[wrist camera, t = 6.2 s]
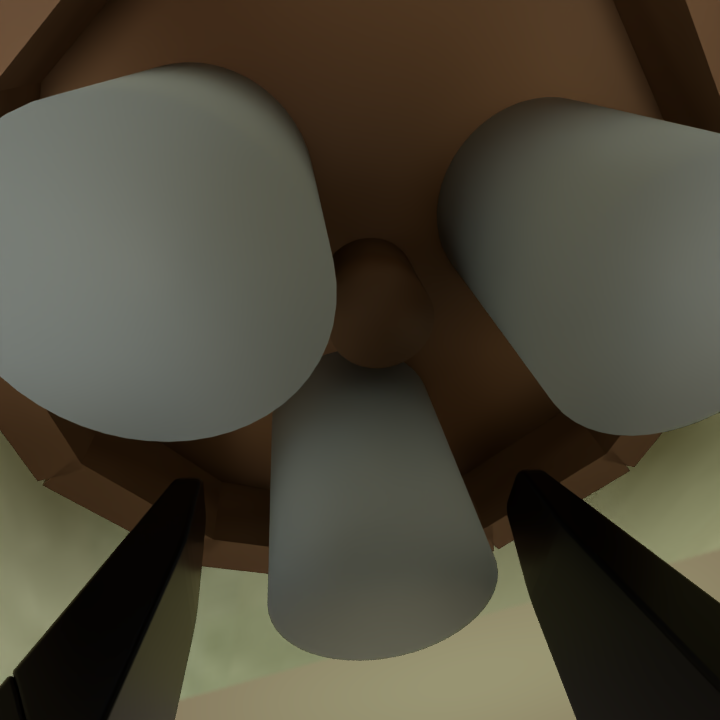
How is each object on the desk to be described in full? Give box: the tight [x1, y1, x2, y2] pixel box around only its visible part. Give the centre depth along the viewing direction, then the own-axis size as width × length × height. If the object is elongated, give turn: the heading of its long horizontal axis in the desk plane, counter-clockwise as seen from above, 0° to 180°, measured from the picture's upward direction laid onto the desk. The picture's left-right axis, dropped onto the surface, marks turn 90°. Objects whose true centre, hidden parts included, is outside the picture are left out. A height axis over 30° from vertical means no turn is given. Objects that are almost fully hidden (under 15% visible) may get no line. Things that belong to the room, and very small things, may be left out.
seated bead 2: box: [437, 97, 720, 436], centre depth 7 cm, size 3×3×4 cm
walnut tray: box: [0, 0, 720, 574], centre depth 9 cm, size 12×12×2 cm
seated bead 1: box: [0, 62, 336, 442], centre depth 6 cm, size 3×3×4 cm
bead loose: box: [268, 351, 498, 661], centre depth 9 cm, size 3×3×4 cm
